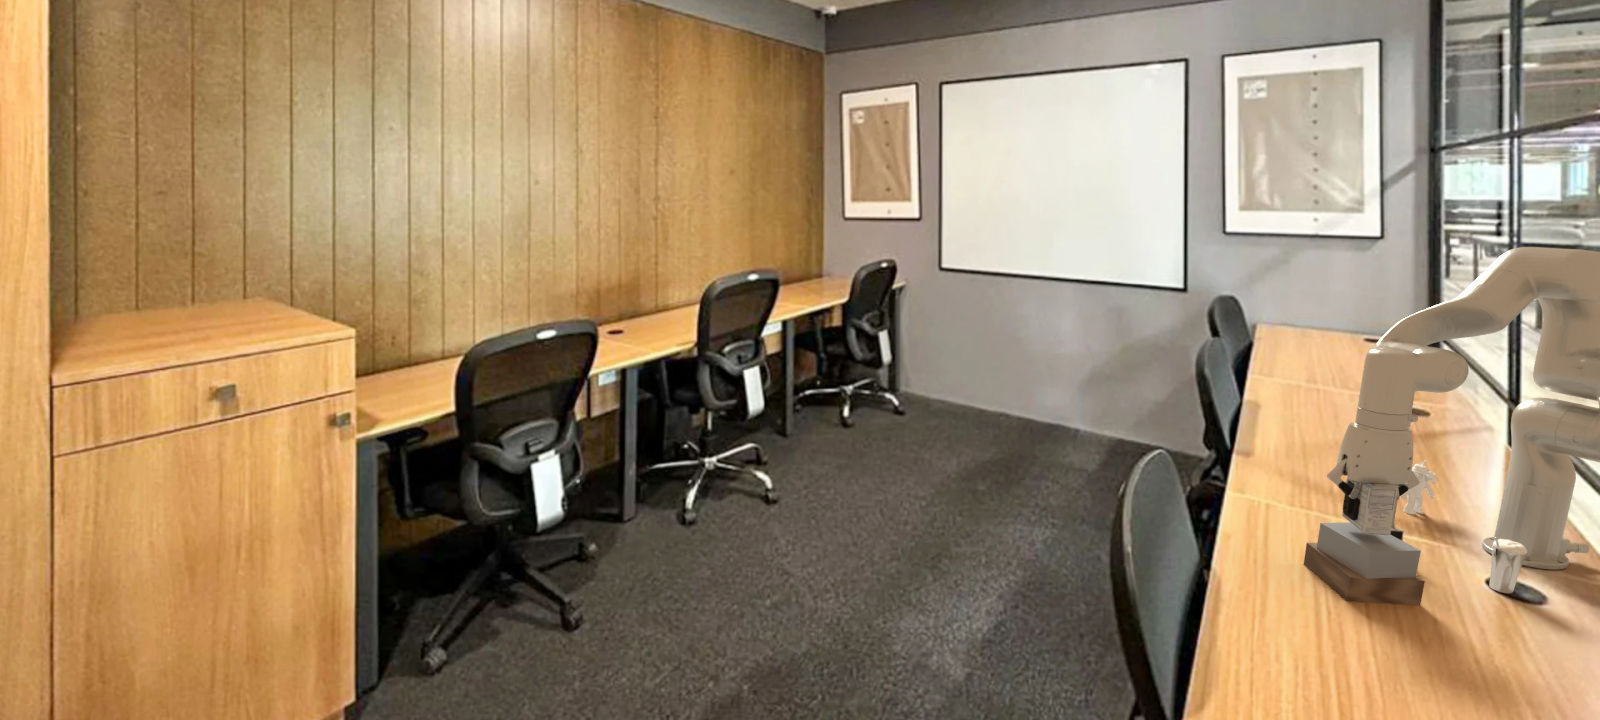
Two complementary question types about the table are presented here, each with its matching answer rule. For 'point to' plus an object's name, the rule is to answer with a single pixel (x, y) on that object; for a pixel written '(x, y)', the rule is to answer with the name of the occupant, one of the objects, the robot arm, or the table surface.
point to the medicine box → (1375, 508)
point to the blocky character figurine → (1419, 489)
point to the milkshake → (1506, 564)
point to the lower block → (1362, 581)
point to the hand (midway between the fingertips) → (1366, 517)
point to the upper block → (1368, 551)
